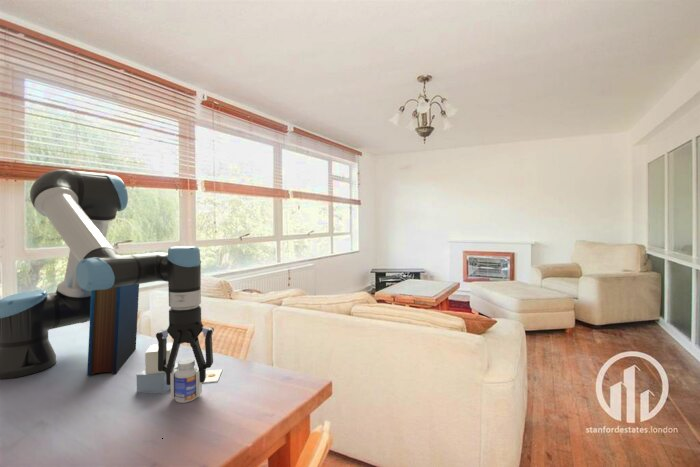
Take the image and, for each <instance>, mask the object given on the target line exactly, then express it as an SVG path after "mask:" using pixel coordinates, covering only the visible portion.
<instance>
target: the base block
mask: <svg viewBox="0 0 700 467" xmlns="http://www.w3.org/2000/svg"><path fill="white" fill-rule="evenodd" d="M174 366H175V367H174V368H173V370H174V369H177V370H178V367H177V366H178V362H175V365H174ZM169 391H171V385H167V383H166V372H165V373H156V374H146V370H145V369H143V370H142V371H140V372H138V373H136V392H137V393H147V394H148V393H151V394H163V395H164V394H166V393H168V392H169Z"/></svg>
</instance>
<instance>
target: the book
mask: <svg viewBox="0 0 700 467" xmlns="http://www.w3.org/2000/svg"><path fill="white" fill-rule="evenodd" d="M139 290H140V284H134V285H128V286H122V287H116V288H110V289H106V290H93V291H91V306H90V321H89V330H88V331H89V332H88V350H87V369H86V370H87V371H86V372H87V374H86V376H87V377H88V376H89V377H90V376H92V375H93V374H98V373H99V374H100V373H112V375H117V373H118V372H119V371H120V370H121V368H122V367H123V366H124V365H125V364H126V362H127V361H128V360H129V358H130V357H131V356H132V354H134V352H135V351H136V349H137V332H138V314H139V313H138V311H139V295H140V294H139V293H140V291H139Z"/></svg>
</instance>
